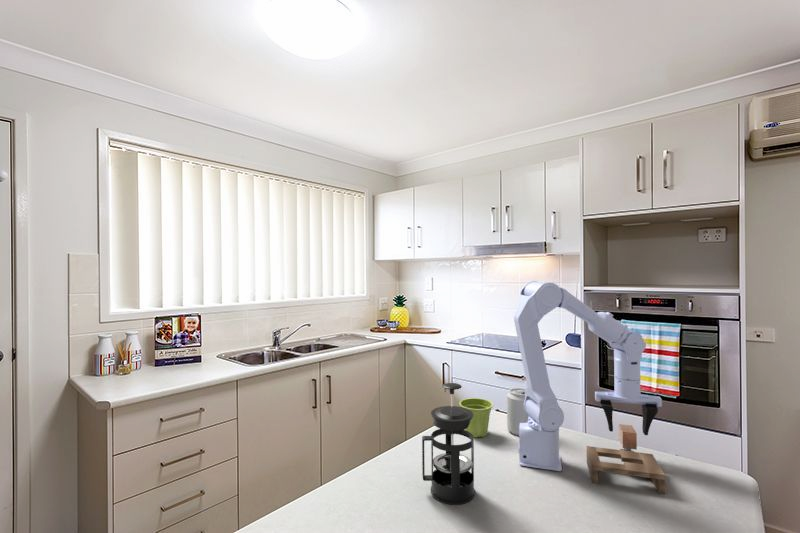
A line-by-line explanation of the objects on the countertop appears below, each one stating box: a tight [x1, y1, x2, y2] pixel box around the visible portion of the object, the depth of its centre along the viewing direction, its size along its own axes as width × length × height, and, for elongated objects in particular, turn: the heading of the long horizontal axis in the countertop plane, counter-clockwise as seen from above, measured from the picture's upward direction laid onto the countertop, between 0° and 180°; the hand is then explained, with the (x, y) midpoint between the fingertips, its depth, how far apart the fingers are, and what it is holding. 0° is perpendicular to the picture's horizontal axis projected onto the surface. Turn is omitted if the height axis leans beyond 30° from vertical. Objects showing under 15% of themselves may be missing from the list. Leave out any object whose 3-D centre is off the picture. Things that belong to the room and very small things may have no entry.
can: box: [506, 387, 528, 437], centre depth 117 cm, size 8×8×12 cm
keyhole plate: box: [586, 445, 666, 495], centre depth 92 cm, size 14×10×4 cm
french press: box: [421, 382, 476, 506], centre depth 86 cm, size 12×9×23 cm
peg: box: [618, 423, 638, 452], centre depth 101 cm, size 4×5×7 cm
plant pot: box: [459, 397, 494, 438], centre depth 116 cm, size 9×9×9 cm
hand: (627, 431), depth 101 cm, fingers open, 7 cm apart
